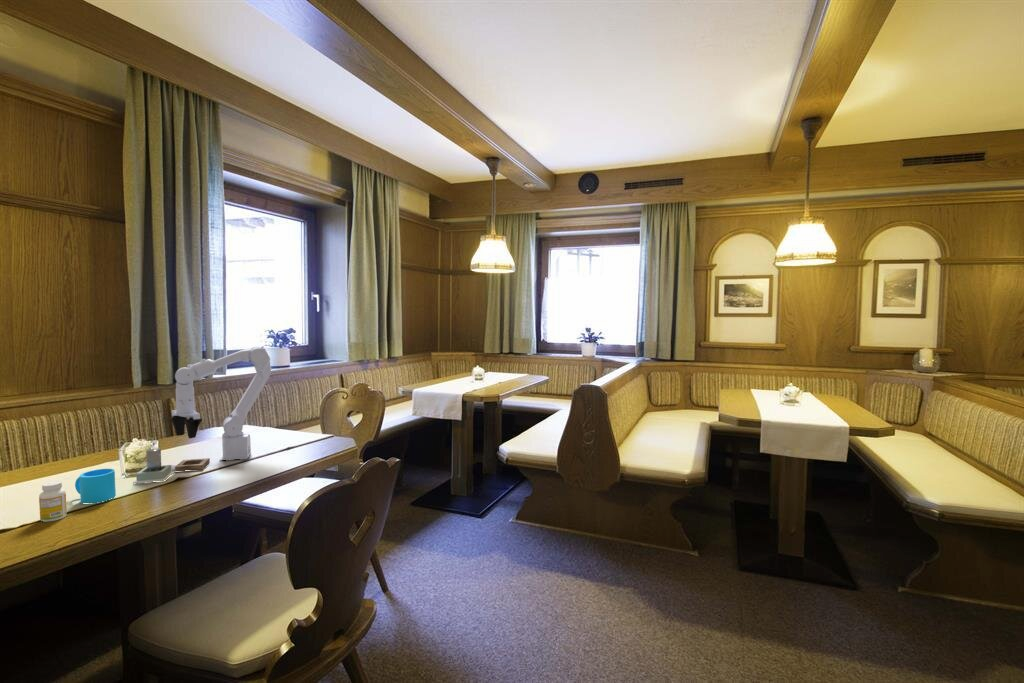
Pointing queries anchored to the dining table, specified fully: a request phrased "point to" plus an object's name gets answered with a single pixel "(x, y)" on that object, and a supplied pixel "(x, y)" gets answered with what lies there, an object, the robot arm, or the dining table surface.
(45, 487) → the supplement bottle
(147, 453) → the peg
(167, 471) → the grey square tray
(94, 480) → the mug
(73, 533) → the dining table surface
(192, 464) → the socket
